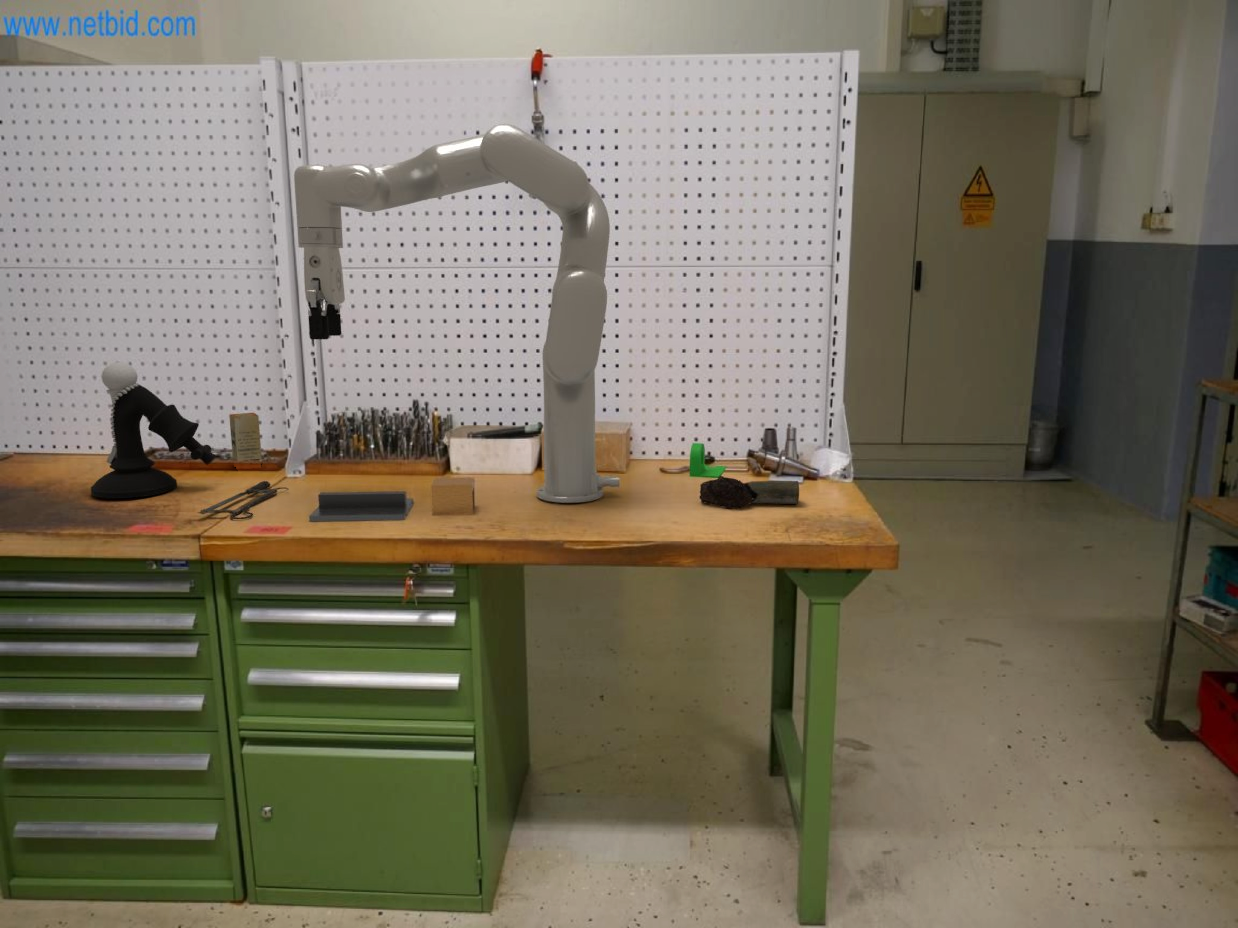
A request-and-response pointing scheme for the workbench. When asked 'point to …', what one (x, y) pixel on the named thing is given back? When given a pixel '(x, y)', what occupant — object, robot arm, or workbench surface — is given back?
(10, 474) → the workbench surface
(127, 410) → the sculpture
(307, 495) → the workbench surface
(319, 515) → the rail
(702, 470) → the mechanical part
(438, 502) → the tan wooden block
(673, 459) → the workbench surface
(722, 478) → the dark elongated piece
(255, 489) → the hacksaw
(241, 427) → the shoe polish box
